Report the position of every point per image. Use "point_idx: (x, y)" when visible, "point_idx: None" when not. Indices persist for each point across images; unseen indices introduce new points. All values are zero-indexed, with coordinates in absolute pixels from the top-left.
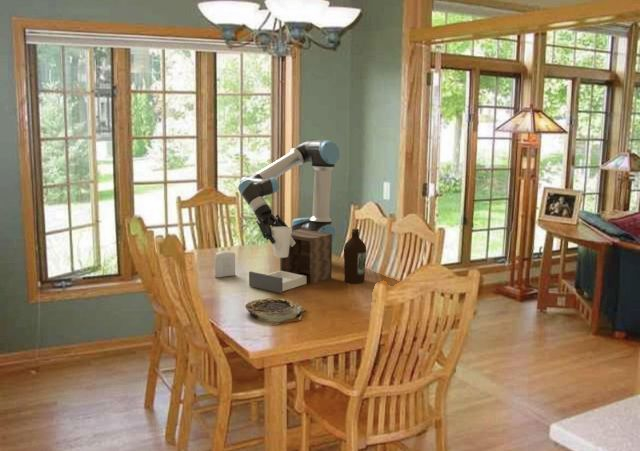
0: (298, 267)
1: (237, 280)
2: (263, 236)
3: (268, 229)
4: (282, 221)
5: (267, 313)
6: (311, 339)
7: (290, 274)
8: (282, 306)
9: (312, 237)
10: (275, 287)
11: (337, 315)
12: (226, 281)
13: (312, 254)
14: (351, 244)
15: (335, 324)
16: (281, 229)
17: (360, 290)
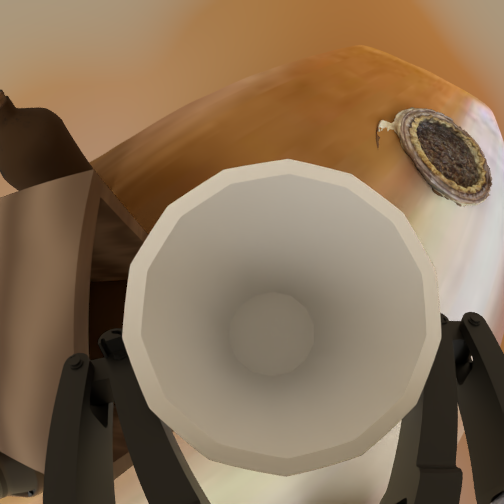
0: None
1: (332, 485)
2: (468, 364)
3: (453, 386)
4: (56, 483)
5: (468, 134)
6: (427, 75)
7: None
8: (429, 140)
9: (62, 196)
10: None
11: (341, 80)
12: (365, 491)
13: (134, 219)
14: (42, 118)
15: (371, 70)
16: (195, 401)
17: (154, 136)
